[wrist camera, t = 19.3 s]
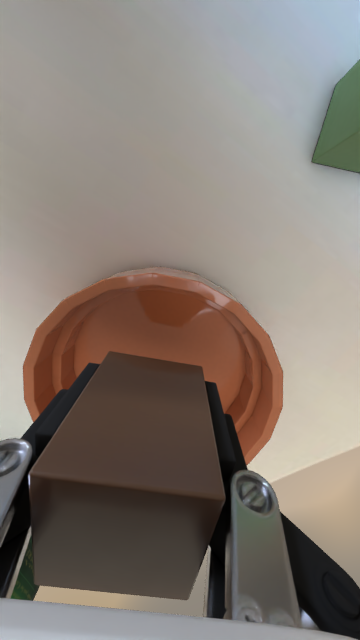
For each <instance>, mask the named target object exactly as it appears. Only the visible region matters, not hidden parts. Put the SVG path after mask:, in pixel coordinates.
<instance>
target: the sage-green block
mask: <svg viewBox="0 0 360 640" xmlns="http://www.w3.org/2000/svg"><path fill="white" fill-rule="evenodd" d="M312 162H314V163H318V164H323V165H327V166H332V167H336V168H341V169H345V170H350V171H354V172H359V173H360V60H359V61H358V62H357V63H356V64H355V65H354V66H353V67H352V68H351V69H350V70H349V71H348V72H347V73H346V75H345V76H344V77H343V78H342V79H341V80H340V81H339V82H338V83H337V84H336V86H335V89H334V93H333V96H332V99H331V102H330V105H329V109H328V112H327V115H326V118H325V121H324V124H323V128H322V131H321V134H320V137H319V140H318V143H317V147H316V150H315V153H314V156H313V159H312Z"/></svg>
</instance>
